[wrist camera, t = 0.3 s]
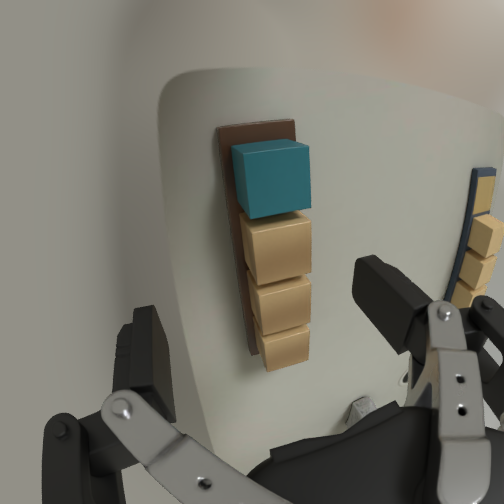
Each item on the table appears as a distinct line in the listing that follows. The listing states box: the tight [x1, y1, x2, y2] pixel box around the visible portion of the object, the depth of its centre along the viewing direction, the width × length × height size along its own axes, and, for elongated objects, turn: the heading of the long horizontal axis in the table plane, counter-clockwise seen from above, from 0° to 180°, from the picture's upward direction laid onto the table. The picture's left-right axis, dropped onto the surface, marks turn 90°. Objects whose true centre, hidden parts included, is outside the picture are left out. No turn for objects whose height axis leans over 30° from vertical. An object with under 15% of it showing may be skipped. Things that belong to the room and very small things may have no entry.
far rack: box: [444, 167, 504, 309], centre depth 34 cm, size 24×6×5 cm, turn 6°
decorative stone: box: [346, 397, 377, 429], centre depth 44 cm, size 11×6×15 cm, turn 10°
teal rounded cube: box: [231, 139, 311, 219], centre depth 21 cm, size 4×4×4 cm
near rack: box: [217, 119, 311, 372], centre depth 25 cm, size 24×6×5 cm, turn 6°
